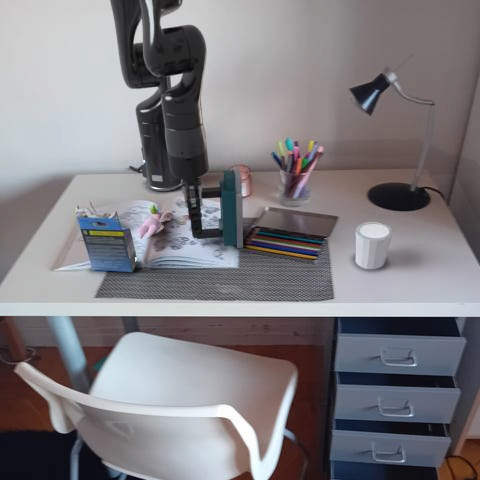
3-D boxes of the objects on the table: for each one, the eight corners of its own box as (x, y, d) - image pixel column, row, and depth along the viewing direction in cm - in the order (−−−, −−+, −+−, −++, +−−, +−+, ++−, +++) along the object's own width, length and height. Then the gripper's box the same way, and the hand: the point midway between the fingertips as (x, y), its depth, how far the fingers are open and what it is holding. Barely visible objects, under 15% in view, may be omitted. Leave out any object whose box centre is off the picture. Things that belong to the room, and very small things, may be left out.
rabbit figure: (150, 221, 120) (131, 245, 107) (147, 196, 117) (126, 218, 104) (176, 221, 119) (159, 246, 106) (173, 196, 116) (156, 219, 103)
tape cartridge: (139, 262, 104) (127, 208, 96) (132, 273, 101) (119, 218, 93) (99, 260, 105) (84, 207, 97) (91, 270, 102) (75, 216, 94)
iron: (243, 247, 106) (193, 251, 105) (239, 231, 111) (192, 234, 110) (242, 178, 96) (187, 182, 95) (238, 164, 101) (186, 167, 101)
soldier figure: (96, 213, 123) (130, 207, 117) (93, 232, 123) (128, 227, 116) (70, 202, 117) (104, 195, 110) (67, 222, 116) (101, 216, 110)
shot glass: (375, 248, 103) (379, 218, 98) (394, 265, 98) (400, 234, 93) (345, 256, 101) (348, 226, 97) (364, 274, 96) (368, 243, 92)
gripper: (166, 136, 100) (178, 214, 111) (167, 164, 89) (180, 247, 100) (204, 132, 100) (212, 210, 111) (209, 160, 89) (217, 243, 100)
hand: (196, 228), depth 106 cm, fingers open, 3 cm apart
